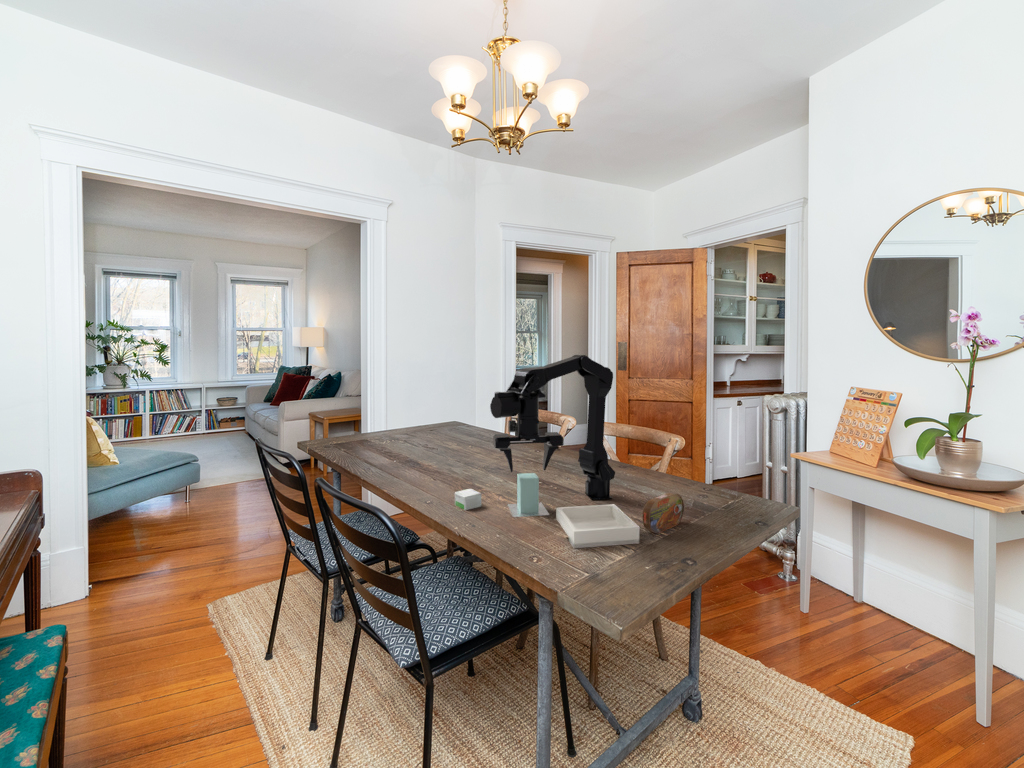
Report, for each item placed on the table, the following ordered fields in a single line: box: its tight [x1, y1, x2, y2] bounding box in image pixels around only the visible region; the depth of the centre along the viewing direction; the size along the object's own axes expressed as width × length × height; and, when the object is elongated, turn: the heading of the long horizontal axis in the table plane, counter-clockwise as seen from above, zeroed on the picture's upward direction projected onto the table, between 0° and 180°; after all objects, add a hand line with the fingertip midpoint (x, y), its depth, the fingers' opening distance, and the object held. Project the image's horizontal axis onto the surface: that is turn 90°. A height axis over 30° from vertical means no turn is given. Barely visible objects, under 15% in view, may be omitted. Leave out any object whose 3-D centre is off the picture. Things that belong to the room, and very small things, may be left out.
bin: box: [555, 503, 640, 549], centre depth 122 cm, size 16×16×4 cm
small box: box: [454, 488, 482, 511], centre depth 139 cm, size 6×6×5 cm
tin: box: [642, 492, 685, 534], centre depth 125 cm, size 15×3×8 cm, turn 129°
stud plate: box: [507, 501, 550, 518], centre depth 136 cm, size 10×10×4 cm
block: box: [516, 472, 540, 513], centre depth 135 cm, size 5×5×10 cm
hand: (527, 470), depth 135 cm, fingers open, 9 cm apart
